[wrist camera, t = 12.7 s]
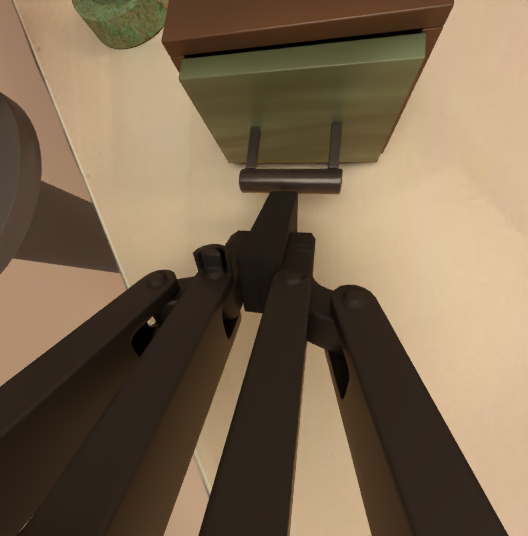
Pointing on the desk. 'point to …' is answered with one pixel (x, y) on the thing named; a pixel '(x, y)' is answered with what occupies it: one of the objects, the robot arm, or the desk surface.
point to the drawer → (304, 104)
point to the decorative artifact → (123, 20)
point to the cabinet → (294, 24)
